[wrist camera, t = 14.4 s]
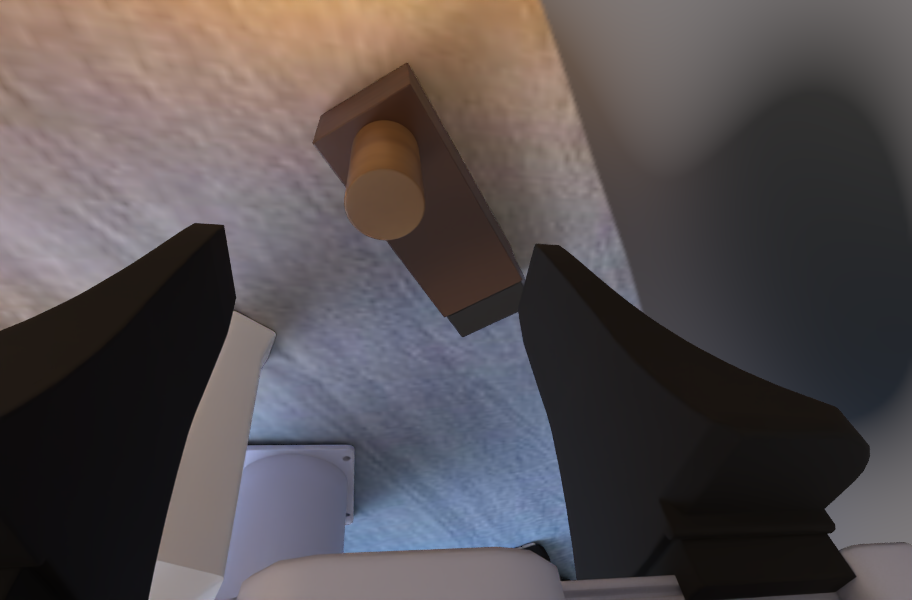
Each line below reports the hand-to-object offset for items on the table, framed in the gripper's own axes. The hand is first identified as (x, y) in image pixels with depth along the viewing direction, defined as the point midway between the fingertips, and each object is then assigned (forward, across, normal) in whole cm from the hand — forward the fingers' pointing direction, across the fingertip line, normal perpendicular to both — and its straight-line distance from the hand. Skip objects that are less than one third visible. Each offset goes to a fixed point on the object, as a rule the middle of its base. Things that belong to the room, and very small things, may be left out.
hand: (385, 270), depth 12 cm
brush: (+10, -2, +3) cm, 11 cm away
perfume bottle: (+11, +7, +12) cm, 18 cm away
